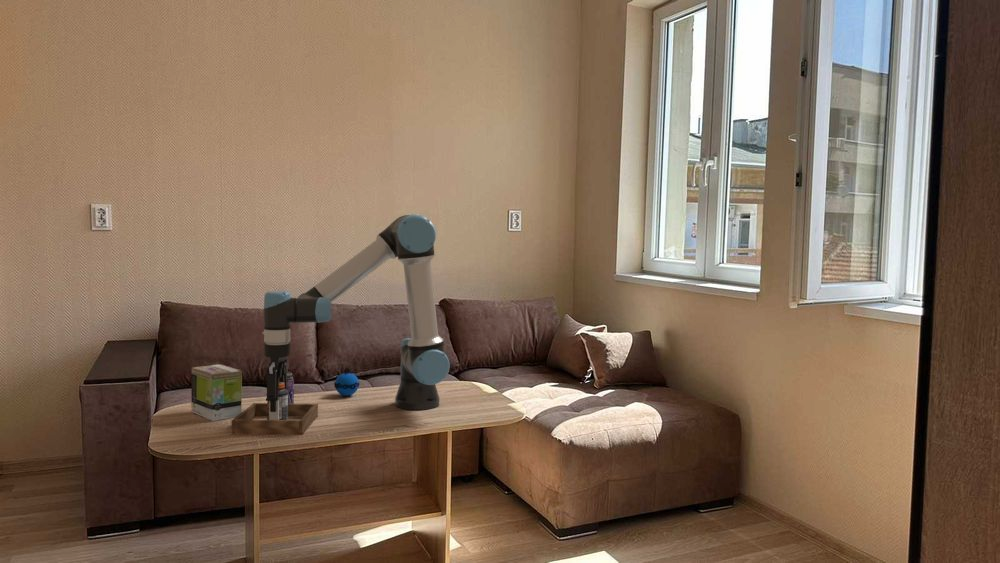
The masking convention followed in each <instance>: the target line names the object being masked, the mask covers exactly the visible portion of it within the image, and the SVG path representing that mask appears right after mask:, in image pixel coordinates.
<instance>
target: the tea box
mask: <svg viewBox="0 0 1000 563" xmlns="http://www.w3.org/2000/svg"><path fill="white" fill-rule="evenodd" d="M242 374H243V372H242V370H241V369H238V368H234V367H231V366H228V365H224V364H220V363H219V364H212V365H210V364H209V365H201V366H193V367H191V377H190V378H191V396H190V398H191V402H190V404H191V406H190V407H191V413H194V414H196V415H197V416H200V417H202V418H205V419H207V420H210V421H212V422H215V421H220V420H221V421H222V420H227V419H232V418H233V419H234V418H235V417H237V416H238V415H239V414H241V413H242V412H243V411H242V410H243V409H242V407H243V405H242V402H243V400H242V397H243V396H242V393H243V392H242V391H243V389H242V388H243V385H242V383H243V375H242Z"/></svg>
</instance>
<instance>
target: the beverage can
mask: <svg viewBox="0 0 1000 563" xmlns="http://www.w3.org/2000/svg"><path fill="white" fill-rule="evenodd" d="M294 390H295V379H294V377H293V373H292V372H288V371H287V391H288V404H295V402H294V401H295V400H294V399H295V397H294V396H295V391H294Z"/></svg>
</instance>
